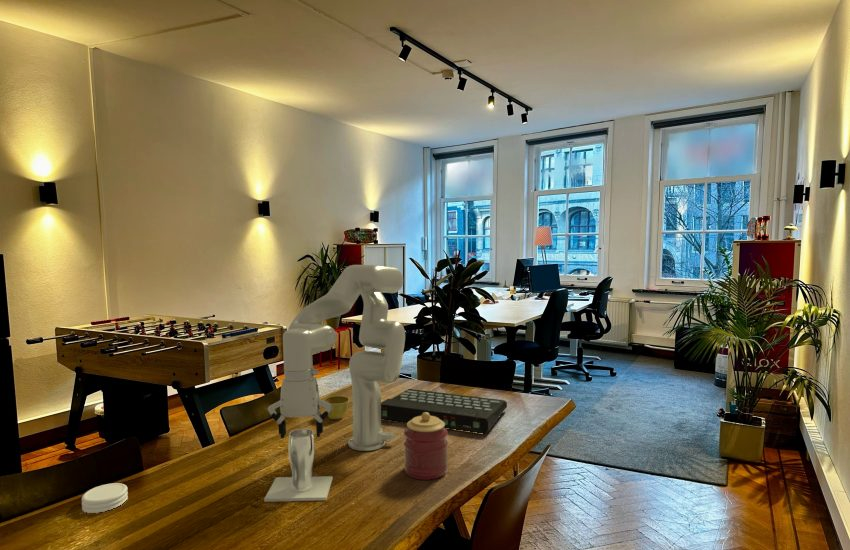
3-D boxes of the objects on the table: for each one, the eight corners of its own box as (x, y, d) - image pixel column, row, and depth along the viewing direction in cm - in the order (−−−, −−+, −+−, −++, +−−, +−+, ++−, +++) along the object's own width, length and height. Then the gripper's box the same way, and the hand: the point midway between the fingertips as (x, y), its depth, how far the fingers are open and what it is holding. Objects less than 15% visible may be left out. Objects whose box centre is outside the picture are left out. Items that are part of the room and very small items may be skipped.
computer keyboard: (507, 413, 199) (507, 396, 198) (488, 437, 173) (488, 418, 173) (406, 400, 216) (406, 385, 216) (376, 420, 191) (375, 403, 190)
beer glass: (308, 494, 130) (307, 438, 129) (284, 491, 132) (283, 436, 131) (319, 481, 137) (318, 429, 136) (296, 479, 138) (295, 427, 138)
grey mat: (332, 478, 140) (332, 476, 140) (326, 500, 128) (326, 497, 128) (276, 480, 140) (276, 477, 140) (264, 501, 128) (264, 498, 128)
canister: (452, 479, 140) (452, 418, 139) (407, 482, 138) (406, 421, 137) (442, 460, 153) (442, 404, 152) (401, 463, 151) (401, 406, 150)
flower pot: (353, 418, 191) (353, 400, 190) (329, 424, 185) (329, 405, 185) (342, 411, 199) (342, 394, 199) (319, 416, 193) (319, 398, 193)
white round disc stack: (77, 518, 121) (76, 504, 120) (87, 499, 130) (86, 486, 130) (124, 509, 124) (123, 496, 124) (130, 492, 134) (130, 479, 133)
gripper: (332, 369, 137) (334, 429, 138) (270, 371, 136) (273, 431, 138) (328, 377, 129) (330, 440, 131) (262, 379, 129) (265, 442, 130)
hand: (301, 435), depth 134 cm, fingers open, 9 cm apart
